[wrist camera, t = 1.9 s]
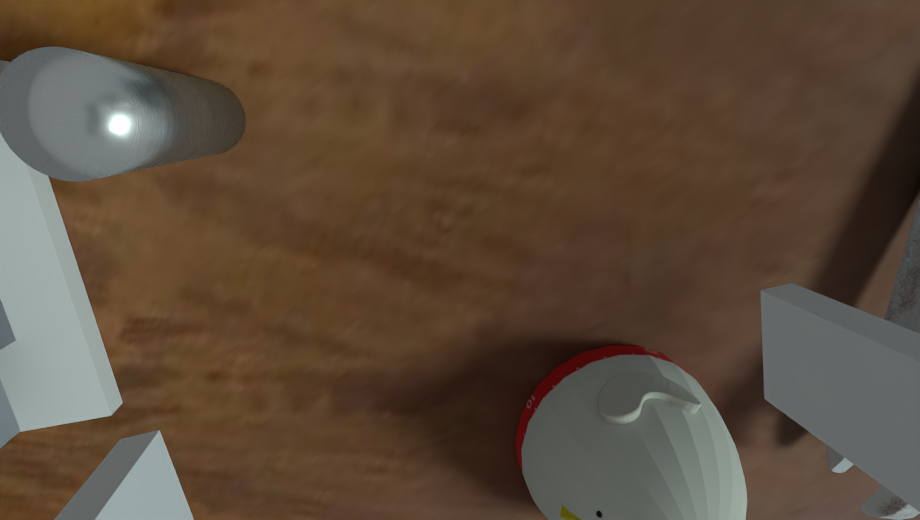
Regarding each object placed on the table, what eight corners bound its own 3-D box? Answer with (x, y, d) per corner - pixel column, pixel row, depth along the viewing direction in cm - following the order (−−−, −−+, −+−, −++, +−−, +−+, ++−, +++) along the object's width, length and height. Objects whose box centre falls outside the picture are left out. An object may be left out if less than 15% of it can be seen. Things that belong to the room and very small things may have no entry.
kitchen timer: (511, 356, 36) (595, 511, 22) (703, 332, 38) (899, 462, 24) (520, 529, 40) (597, 759, 26) (695, 501, 42) (860, 703, 27)
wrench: (935, 82, 39) (819, 473, 42) (915, 76, 38) (798, 470, 41) (1079, 56, 31) (923, 540, 34) (1055, 48, 31) (899, 537, 34)
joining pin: (160, 84, 29) (-27, 55, 16) (236, 75, 30) (114, 39, 16) (180, 159, 30) (19, 189, 17) (252, 149, 31) (152, 171, 17)
